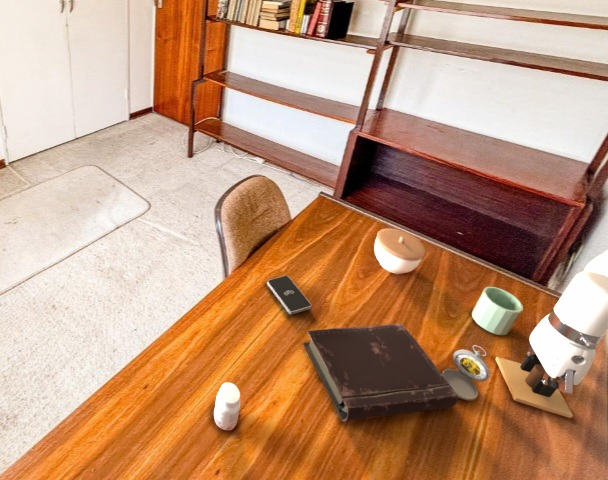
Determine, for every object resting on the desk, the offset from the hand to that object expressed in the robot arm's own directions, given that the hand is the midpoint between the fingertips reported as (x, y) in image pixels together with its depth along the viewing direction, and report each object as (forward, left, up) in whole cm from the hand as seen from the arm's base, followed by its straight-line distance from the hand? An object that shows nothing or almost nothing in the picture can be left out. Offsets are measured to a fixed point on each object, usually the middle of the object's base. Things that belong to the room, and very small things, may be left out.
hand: (534, 381), depth 88 cm
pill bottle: (+64, +31, -2) cm, 71 cm away
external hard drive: (+53, -5, -2) cm, 53 cm away
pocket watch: (+15, +5, -2) cm, 16 cm away
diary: (+34, +10, -2) cm, 36 cm away
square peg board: (0, 0, -2) cm, 2 cm away
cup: (+2, -17, -2) cm, 17 cm away
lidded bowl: (+23, -30, -2) cm, 38 cm away
